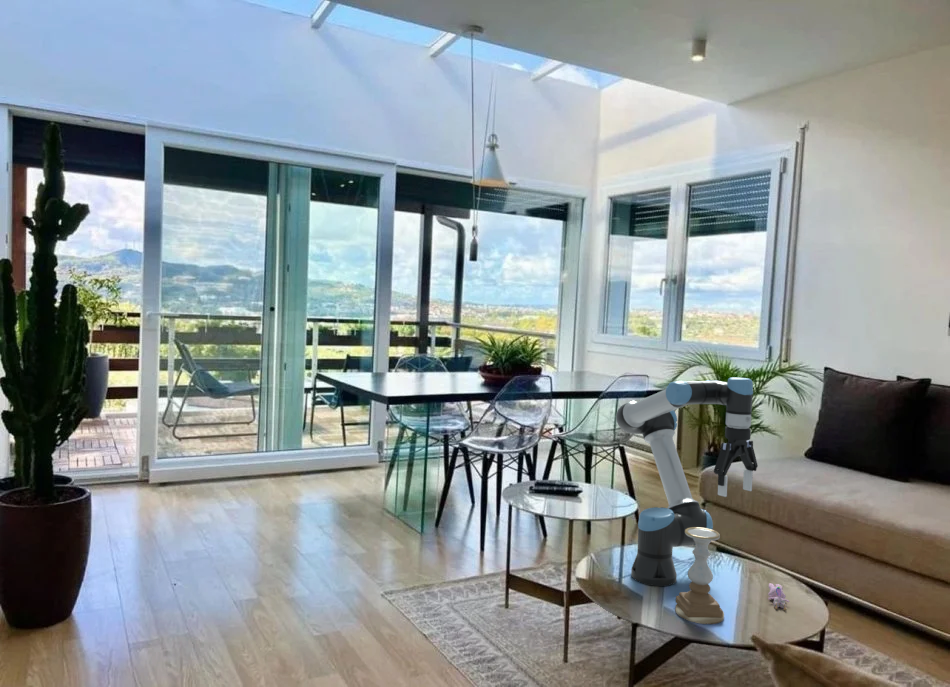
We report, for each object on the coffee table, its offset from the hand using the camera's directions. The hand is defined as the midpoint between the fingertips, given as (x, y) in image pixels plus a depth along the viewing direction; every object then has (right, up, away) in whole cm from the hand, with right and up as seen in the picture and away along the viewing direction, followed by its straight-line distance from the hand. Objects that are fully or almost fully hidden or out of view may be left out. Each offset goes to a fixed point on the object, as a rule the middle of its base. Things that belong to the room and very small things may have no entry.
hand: (734, 493), depth 215 cm
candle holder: (-14, -34, -9) cm, 38 cm away
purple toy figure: (+14, -36, +2) cm, 38 cm away
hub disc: (-14, -35, -9) cm, 39 cm away
